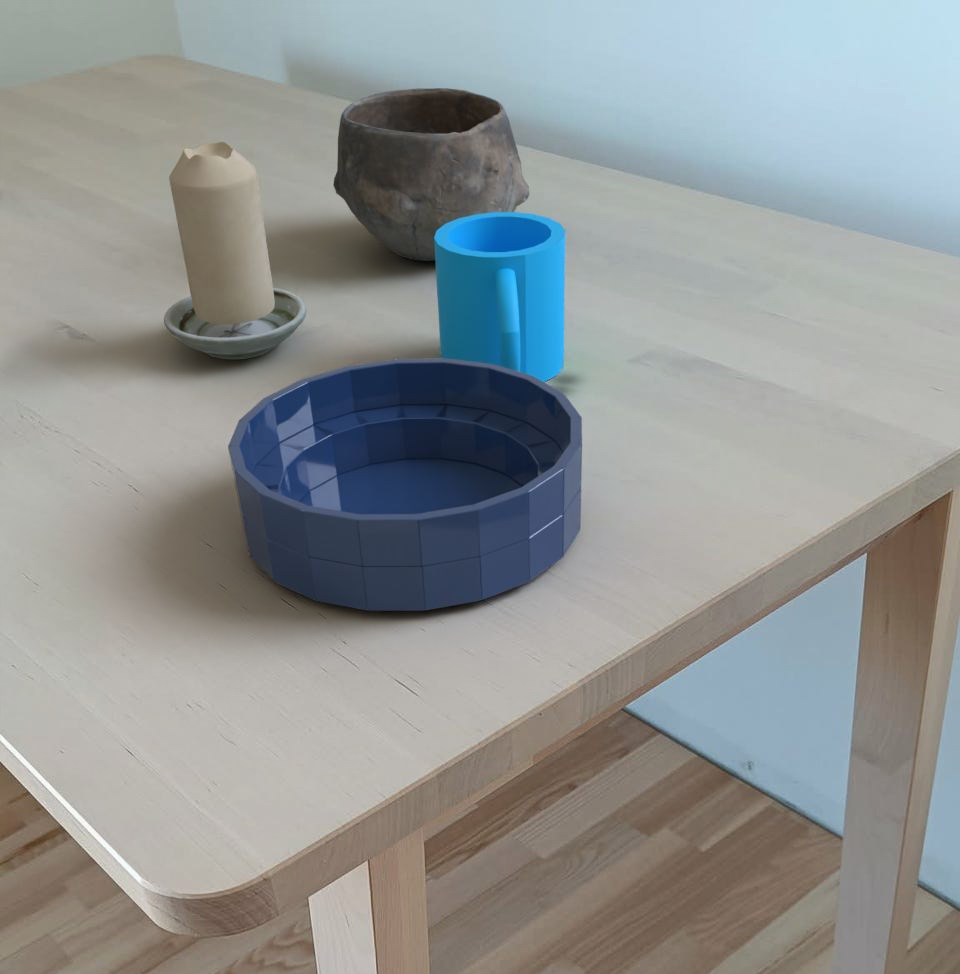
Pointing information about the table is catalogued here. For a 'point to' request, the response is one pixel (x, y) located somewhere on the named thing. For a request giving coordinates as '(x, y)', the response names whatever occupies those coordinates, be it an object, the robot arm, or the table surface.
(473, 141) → the bowl
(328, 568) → the serving bowl
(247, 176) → the candle
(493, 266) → the mug
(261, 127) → the table surface
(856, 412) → the table surface
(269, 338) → the saucer
